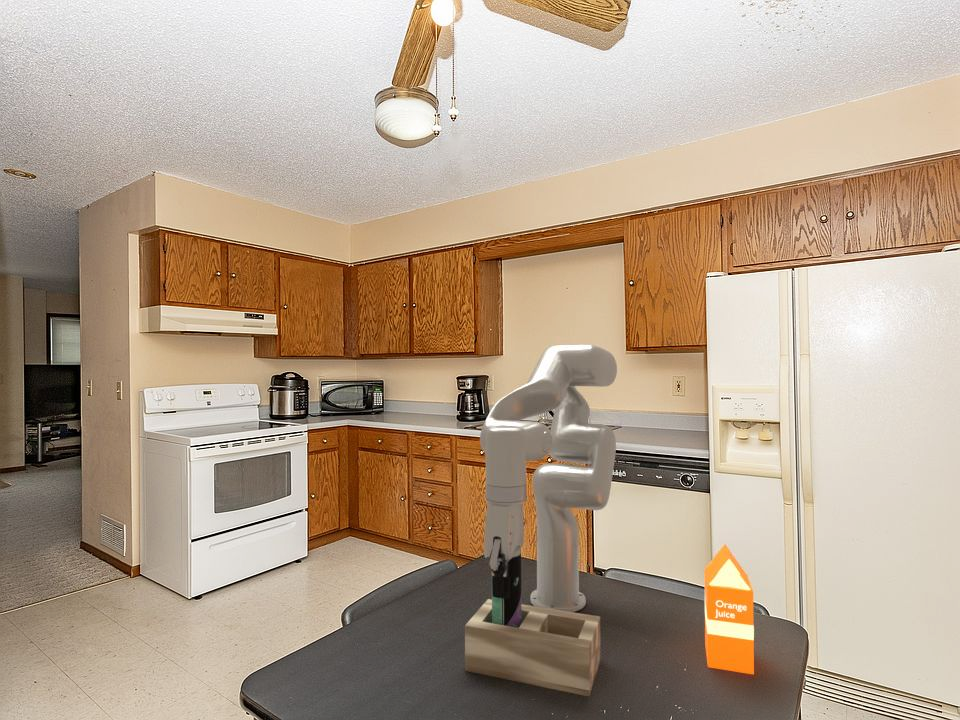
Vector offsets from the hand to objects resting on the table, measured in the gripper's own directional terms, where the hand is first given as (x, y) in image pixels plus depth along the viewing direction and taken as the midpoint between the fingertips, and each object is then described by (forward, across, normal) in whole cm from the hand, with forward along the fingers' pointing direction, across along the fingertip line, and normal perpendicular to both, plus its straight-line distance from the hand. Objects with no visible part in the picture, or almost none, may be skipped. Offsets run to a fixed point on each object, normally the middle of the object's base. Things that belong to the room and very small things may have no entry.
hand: (506, 589), depth 103 cm
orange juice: (+13, -15, +38) cm, 43 cm away
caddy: (+13, 0, +5) cm, 14 cm away
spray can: (+10, 0, 0) cm, 10 cm away
